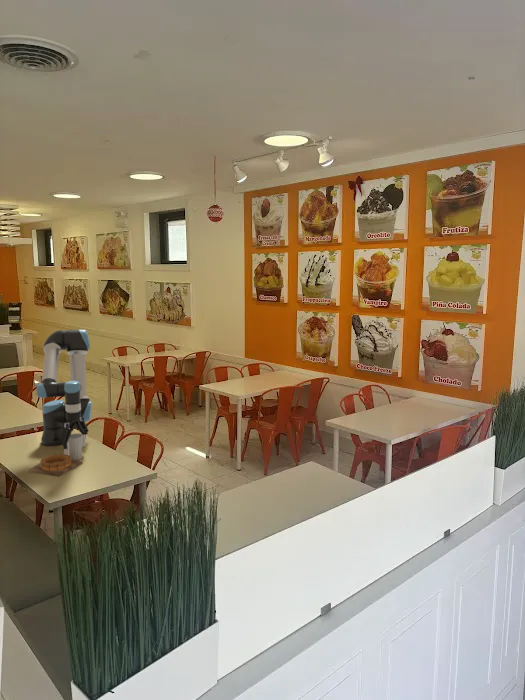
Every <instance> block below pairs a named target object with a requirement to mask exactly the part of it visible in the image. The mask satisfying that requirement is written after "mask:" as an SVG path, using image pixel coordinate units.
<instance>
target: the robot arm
mask: <svg viewBox="0 0 525 700" xmlns="http://www.w3.org/2000/svg"><path fill="white" fill-rule="evenodd" d="M90 349H91V344H90V337H89V332H88V330H87V329H80V328H79V329H64V330H63V329H61V330H56V331H54V332H52V333H51V334H50V335H49V336H47V338H46V340H45V341H44V343H43V353H44V359H43V366H42V367H43V368H42V377H41V382H40V383H37V385H36V396H37V398H42V399H43V398H58V397H64V399H56V400H51V401H48V402H45V403H44V404H43V406H42V422H43V423H42V424H43V432H42V435H41V438H40V441H41V444H42V445H43V446H59V445H61V446H63V447H62V449H63V454H65V455H69V442H68V440H69V437H70V435H71V434H72V432H74V430H75V429H77V430H78V432H80V434H82V435H83V436H82V447H83V448H86V447H87V445H86V443H87V442H86V441H87V440H86V439H87V435H88V432H89V428H88V426H87V424H86V423H87V422H89V421H91V417H92V411H93V401H92V400H90V397H89V396H88V395H87V371H86V370H87V369H86V368H87V367H86V355H87V354H88V353H89V350H90ZM62 351H66V353H67V355H69V370H70V371H69V373H70V380H69V381H62V382H60V381H59V382H58V374H59V373H58V372H59V359H60V354H61V353H62Z"/></svg>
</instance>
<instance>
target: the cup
mask: <svg viewBox="0 0 525 700" xmlns="http://www.w3.org/2000/svg"><path fill="white" fill-rule="evenodd" d="M82 436H83V435H82V434H81V433H71V435H70V437H69V440H68V442H69V456H70V457H71V459H74V460H81V459H82V458H83V446H82Z"/></svg>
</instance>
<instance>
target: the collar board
mask: <svg viewBox="0 0 525 700" xmlns="http://www.w3.org/2000/svg"><path fill="white" fill-rule="evenodd" d="M81 464H83V460H81V459H78V460H74V459H71V457H70V456H69V455H65V454H64V453H62V454H61V453H59V454H57V453H56V454H52V455H51V454H50V455H48V456H44V457H43V458H41V460H40V461H39V463H38V464H36V465H34V466H32V467H30V468H29V469H28V472H29V473H34V474H40V475H47V476H52V477H61V476H63V475H65V474H66V473H68V472H70V471H71V470H74V468H77V467H78V466H80V465H81Z"/></svg>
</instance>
